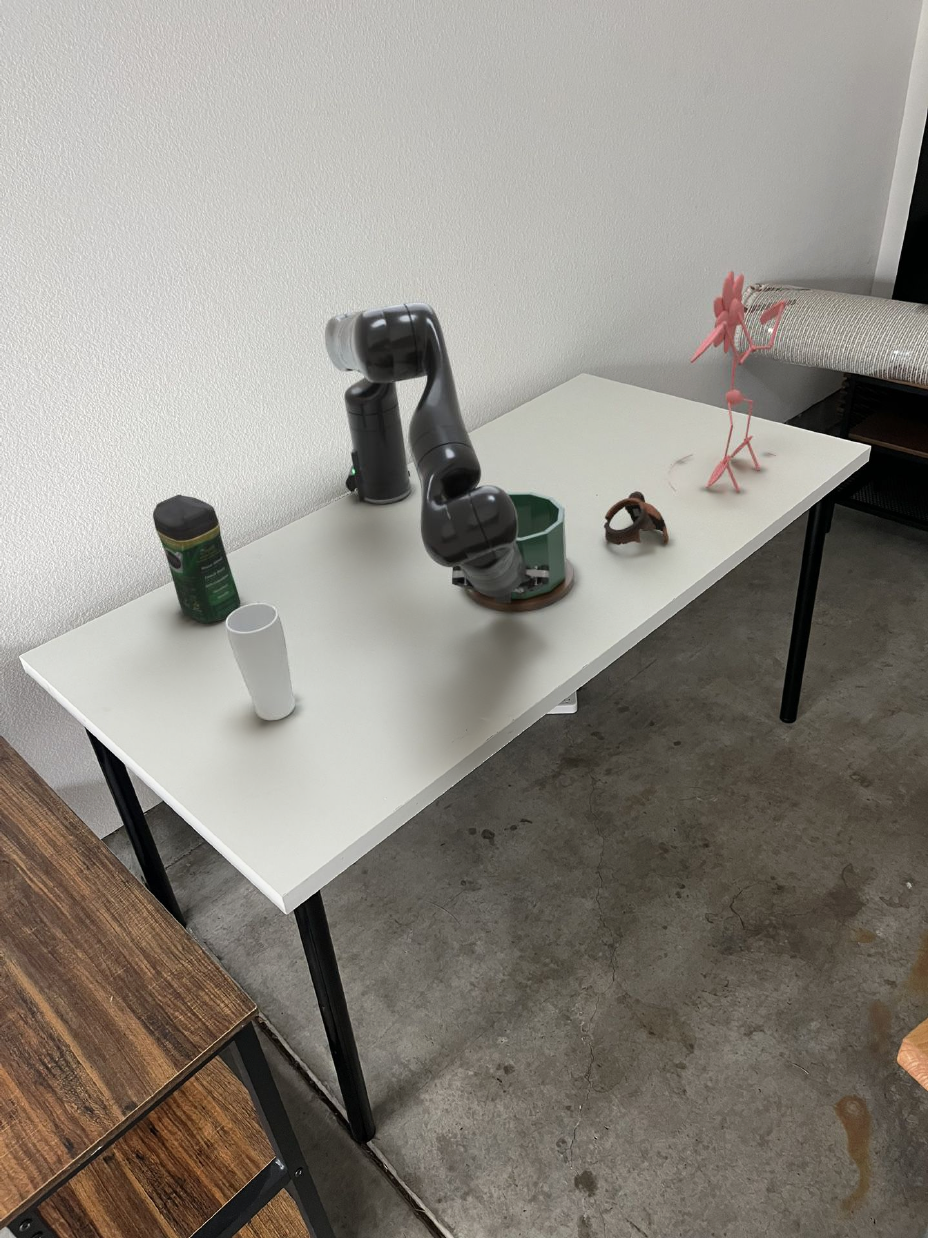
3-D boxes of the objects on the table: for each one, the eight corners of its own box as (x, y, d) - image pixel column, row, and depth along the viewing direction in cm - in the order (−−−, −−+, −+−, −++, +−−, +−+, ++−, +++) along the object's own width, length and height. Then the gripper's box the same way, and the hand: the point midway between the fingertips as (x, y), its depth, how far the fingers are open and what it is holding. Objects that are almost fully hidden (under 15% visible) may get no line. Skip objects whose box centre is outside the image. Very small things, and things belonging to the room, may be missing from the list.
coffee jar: (250, 607, 149) (222, 501, 138) (207, 631, 144) (174, 523, 134) (216, 587, 155) (186, 484, 144) (174, 609, 150) (140, 505, 140)
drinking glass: (253, 696, 130) (227, 605, 122) (302, 690, 130) (280, 599, 122) (248, 729, 125) (221, 636, 116) (300, 722, 125) (276, 629, 116)
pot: (477, 547, 154) (472, 492, 148) (568, 547, 151) (566, 491, 146) (454, 638, 134) (446, 578, 129) (558, 639, 132) (555, 578, 126)
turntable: (460, 614, 142) (460, 607, 141) (467, 554, 156) (466, 548, 155) (576, 609, 140) (575, 602, 139) (572, 549, 154) (572, 542, 153)
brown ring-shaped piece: (675, 555, 150) (653, 523, 145) (621, 576, 154) (597, 545, 149) (668, 503, 158) (647, 470, 153) (616, 524, 162) (594, 493, 157)
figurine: (781, 451, 175) (802, 254, 155) (723, 513, 159) (739, 301, 139) (703, 437, 183) (713, 247, 163) (640, 494, 167) (643, 291, 147)
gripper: (547, 531, 119) (558, 563, 136) (438, 532, 121) (461, 563, 138) (546, 590, 118) (557, 615, 134) (435, 590, 120) (460, 614, 137)
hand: (509, 589), depth 136 cm, fingers closed
